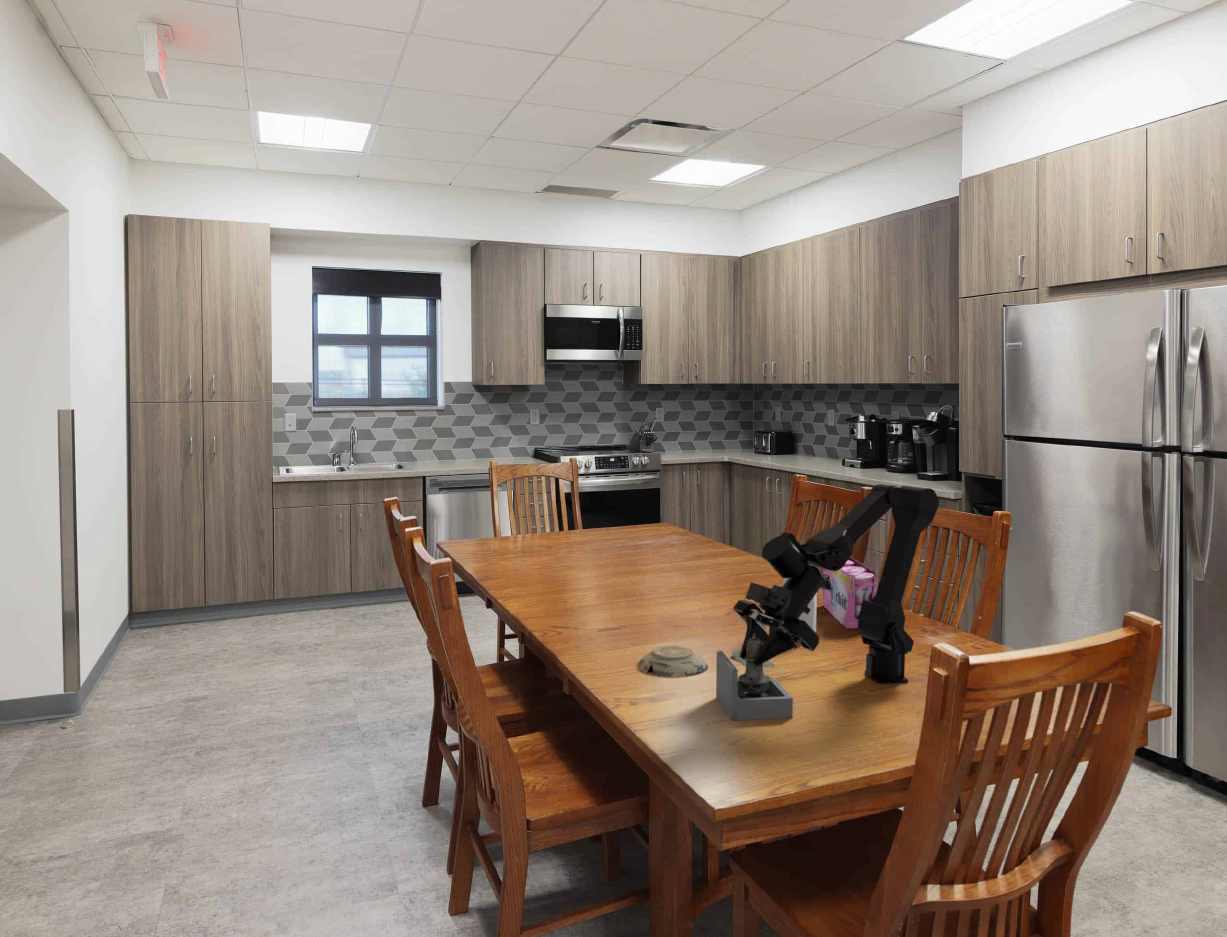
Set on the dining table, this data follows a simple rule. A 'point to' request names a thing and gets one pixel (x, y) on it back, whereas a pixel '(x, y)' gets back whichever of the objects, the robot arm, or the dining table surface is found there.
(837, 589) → the gum box
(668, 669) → the decorative bowl
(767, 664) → the leaf
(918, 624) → the dining table surface
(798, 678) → the dining table surface
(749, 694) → the salt shaker
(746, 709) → the shaker rack
